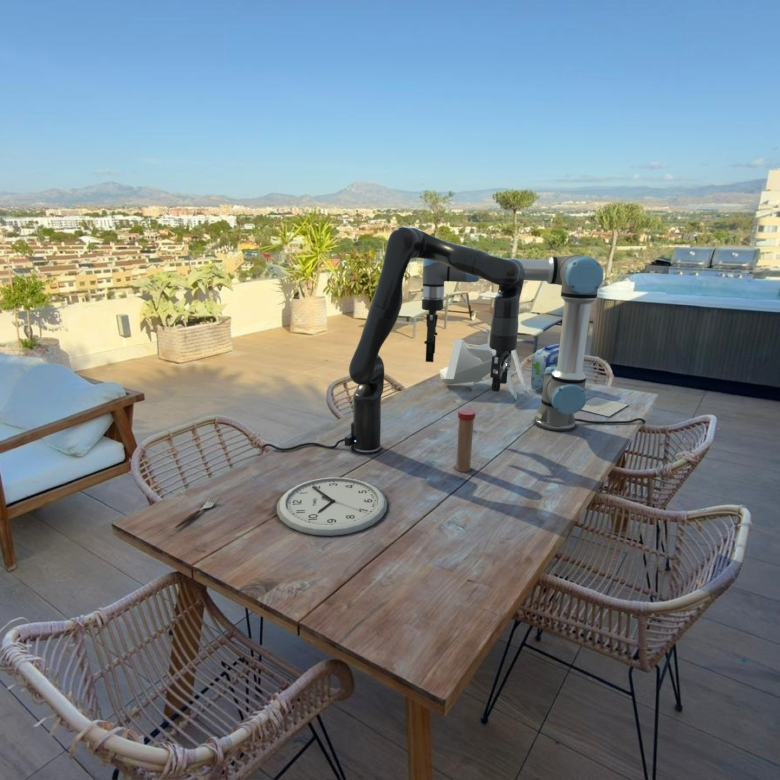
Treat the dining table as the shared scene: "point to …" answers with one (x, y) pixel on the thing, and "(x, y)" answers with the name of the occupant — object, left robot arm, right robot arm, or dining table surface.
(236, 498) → the dining table surface
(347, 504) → the wall clock
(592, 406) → the invitation card
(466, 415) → the lid
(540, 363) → the lunch box
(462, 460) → the wooden cylinder
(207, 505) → the fork
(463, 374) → the white plastic object
